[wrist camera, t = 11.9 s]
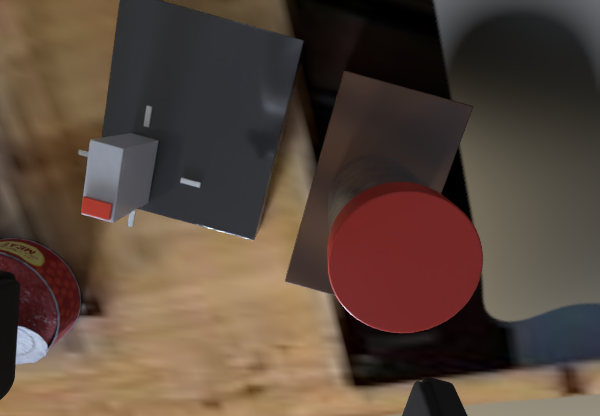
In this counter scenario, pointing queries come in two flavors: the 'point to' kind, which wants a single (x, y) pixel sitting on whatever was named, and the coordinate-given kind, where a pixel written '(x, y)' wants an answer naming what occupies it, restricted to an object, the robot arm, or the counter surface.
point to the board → (374, 142)
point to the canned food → (40, 296)
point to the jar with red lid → (398, 248)
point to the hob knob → (118, 175)
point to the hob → (202, 109)
